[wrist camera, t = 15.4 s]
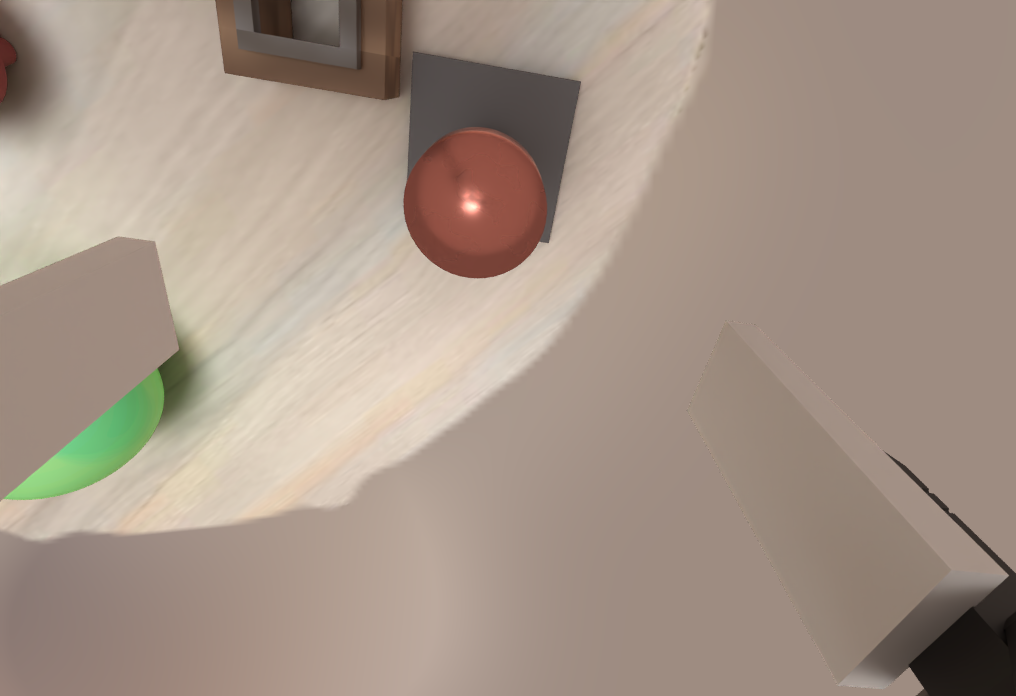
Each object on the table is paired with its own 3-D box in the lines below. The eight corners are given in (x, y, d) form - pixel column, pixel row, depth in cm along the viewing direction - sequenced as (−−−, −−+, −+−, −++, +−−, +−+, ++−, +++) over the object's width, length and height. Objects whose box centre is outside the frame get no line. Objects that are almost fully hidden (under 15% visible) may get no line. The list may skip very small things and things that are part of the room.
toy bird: (128, 451, 52) (7, 573, 39) (-35, 346, 45) (-245, 452, 33) (229, 368, 47) (127, 477, 34) (62, 234, 40) (-144, 309, 27)
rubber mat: (414, 52, 34) (413, 51, 33) (579, 81, 35) (580, 81, 34) (407, 219, 39) (405, 221, 39) (547, 240, 40) (548, 242, 40)
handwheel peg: (437, 195, 38) (401, 268, 25) (444, 97, 34) (406, 121, 21) (523, 208, 38) (533, 286, 25) (539, 113, 35) (560, 147, 22)
